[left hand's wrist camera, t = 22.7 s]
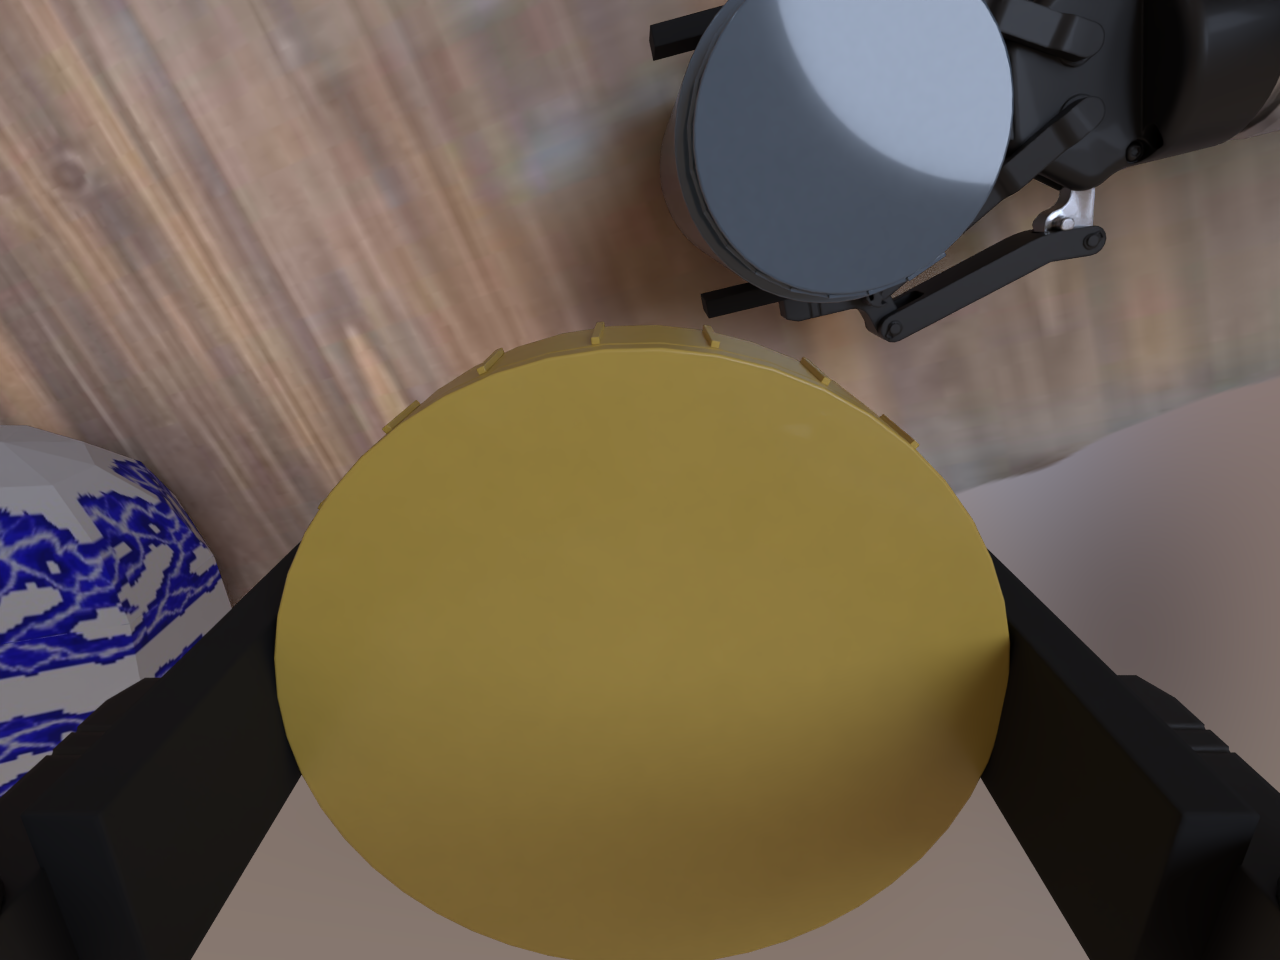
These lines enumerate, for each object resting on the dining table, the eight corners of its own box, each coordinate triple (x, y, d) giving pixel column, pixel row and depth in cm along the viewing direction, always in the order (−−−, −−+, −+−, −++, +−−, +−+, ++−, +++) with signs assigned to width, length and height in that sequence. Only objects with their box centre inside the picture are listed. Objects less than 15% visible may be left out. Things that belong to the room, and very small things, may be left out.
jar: (621, 140, 36) (606, 83, 20) (788, 8, 34) (928, -179, 18) (728, 303, 39) (793, 373, 22) (888, 189, 37) (1089, 175, 21)
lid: (1056, 386, 11) (1138, 421, 9) (856, 905, 14) (887, 1004, 13) (335, 257, 10) (269, 267, 8) (318, 835, 14) (270, 928, 12)
